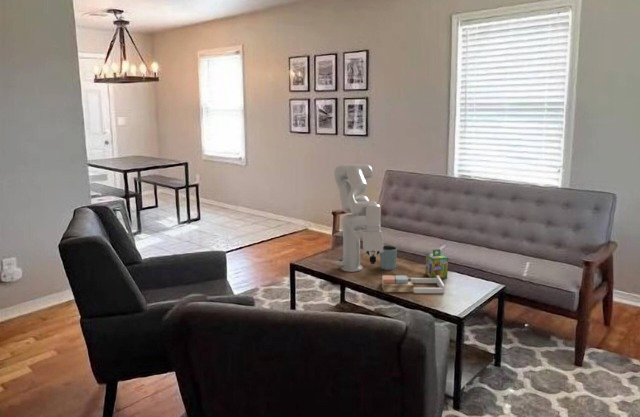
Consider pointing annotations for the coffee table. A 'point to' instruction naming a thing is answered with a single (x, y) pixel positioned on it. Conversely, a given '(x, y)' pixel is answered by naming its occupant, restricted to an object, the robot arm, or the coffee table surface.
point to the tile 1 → (388, 279)
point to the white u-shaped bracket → (429, 280)
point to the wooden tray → (399, 287)
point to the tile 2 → (401, 279)
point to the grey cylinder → (388, 257)
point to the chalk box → (436, 265)
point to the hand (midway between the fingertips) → (372, 263)
